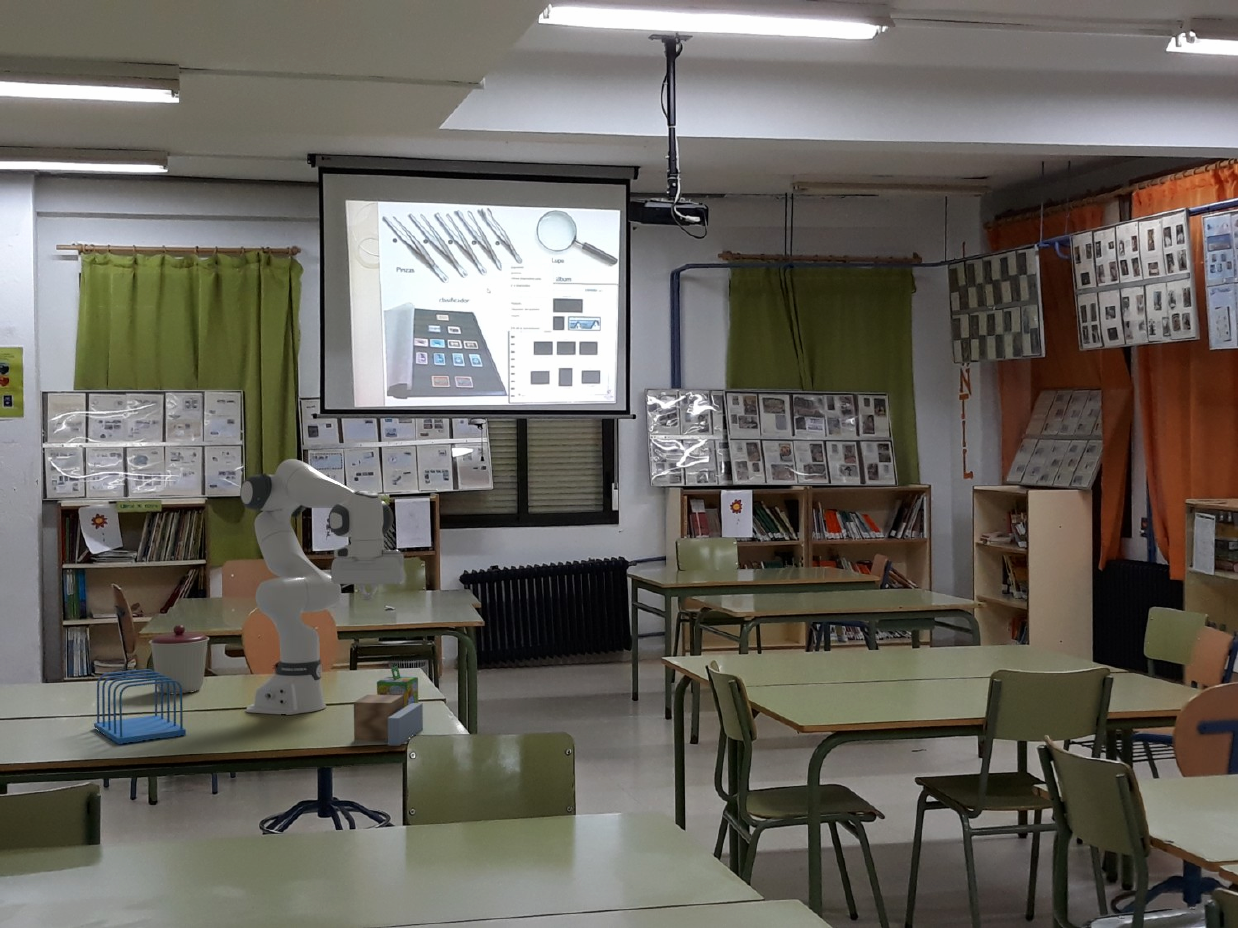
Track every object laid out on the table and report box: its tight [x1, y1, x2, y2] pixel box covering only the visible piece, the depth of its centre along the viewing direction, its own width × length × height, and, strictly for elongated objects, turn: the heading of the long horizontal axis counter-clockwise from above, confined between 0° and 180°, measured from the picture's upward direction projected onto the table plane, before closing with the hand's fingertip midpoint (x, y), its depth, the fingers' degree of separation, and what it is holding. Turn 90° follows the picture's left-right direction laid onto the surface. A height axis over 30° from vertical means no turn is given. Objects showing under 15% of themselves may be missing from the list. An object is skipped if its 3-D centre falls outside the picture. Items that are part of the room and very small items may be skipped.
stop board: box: [387, 702, 424, 747], centre depth 326 cm, size 3×19×7 cm, turn 171°
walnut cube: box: [353, 694, 403, 742], centre depth 327 cm, size 10×10×10 cm
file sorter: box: [93, 668, 187, 745], centre depth 336 cm, size 25×17×15 cm
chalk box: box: [376, 665, 419, 708], centre depth 347 cm, size 9×9×15 cm
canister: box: [148, 624, 210, 694], centre depth 394 cm, size 18×18×21 cm
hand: (368, 600), depth 342 cm, fingers closed
